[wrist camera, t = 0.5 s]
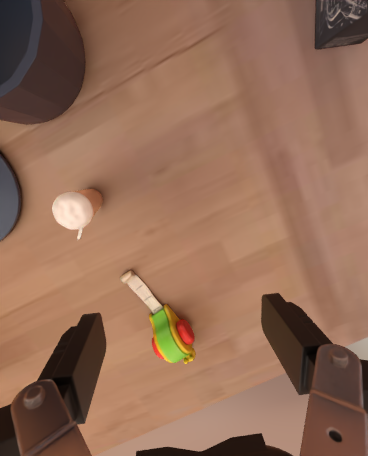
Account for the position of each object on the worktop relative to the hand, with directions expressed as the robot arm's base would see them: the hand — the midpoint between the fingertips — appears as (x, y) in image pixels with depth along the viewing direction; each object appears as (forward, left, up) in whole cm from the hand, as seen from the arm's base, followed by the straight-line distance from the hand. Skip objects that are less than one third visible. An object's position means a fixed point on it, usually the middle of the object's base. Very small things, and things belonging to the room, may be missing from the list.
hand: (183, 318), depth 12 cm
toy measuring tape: (+18, -5, -27) cm, 33 cm away
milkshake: (-3, -11, -27) cm, 30 cm away
